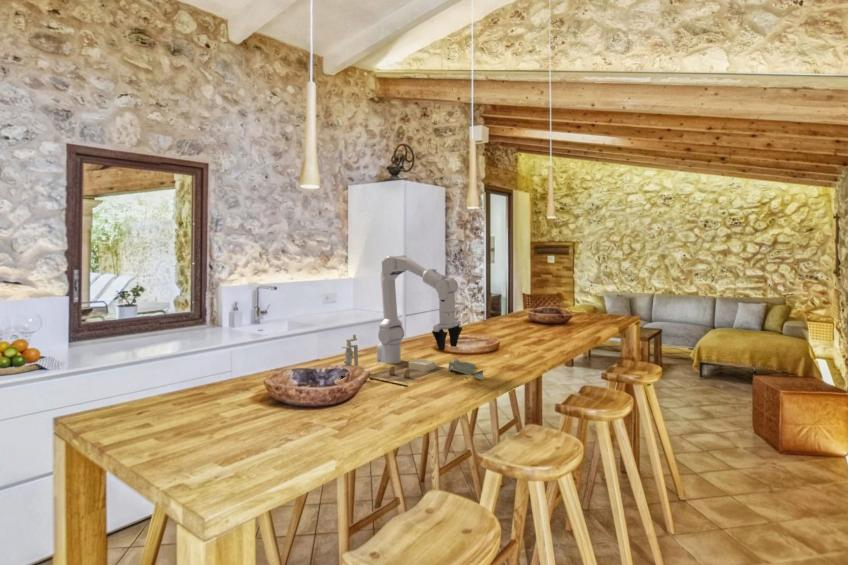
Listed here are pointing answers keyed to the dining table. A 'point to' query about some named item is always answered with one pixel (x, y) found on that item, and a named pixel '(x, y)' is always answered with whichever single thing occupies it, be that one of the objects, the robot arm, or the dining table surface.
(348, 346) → the clamp
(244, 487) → the dining table surface
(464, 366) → the metal bracket
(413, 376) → the bench board
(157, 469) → the dining table surface
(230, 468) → the dining table surface
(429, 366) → the cream rectangular block
